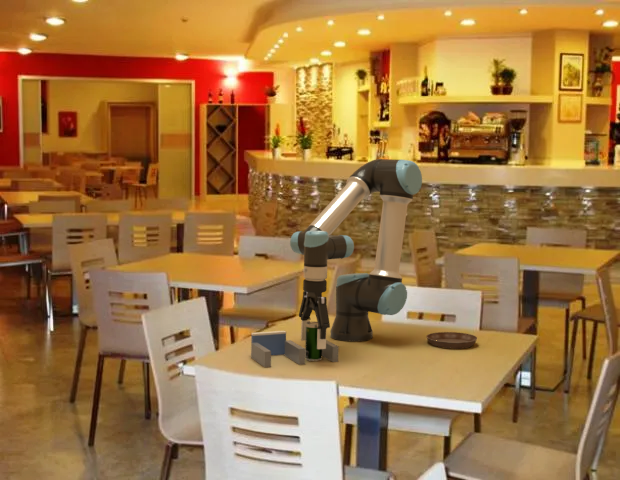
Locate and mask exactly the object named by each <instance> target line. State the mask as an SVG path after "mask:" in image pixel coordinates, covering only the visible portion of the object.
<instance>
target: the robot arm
mask: <svg viewBox="0 0 620 480" xmlns="http://www.w3.org/2000/svg"><path fill="white" fill-rule="evenodd" d="M345 184H346V185H345V186H344V187H342V189H341V190H340V191H339V192H338V193H337V194H336V196H334V198H333V199H332V200H331V201H330V202H329V203H328V204H327V206H325V208H324V209H323V210H322V211H321V212H320V213H319V214H318V216H316V217H315V219H314V220H313V221H312V222H311V223H310V224H309V225H308V226H307V228H305V230H304V231H303V230H300V231H295V232H293V234H292V235H291V236H290V241H289V245H290V249H291V250H292V251H293V252H294V253H295V254H300V255H303V269H302V272H303V278H304V279H303V282H302V283H303V284H302V291H303V292H302V299H301V304H300V308H299V313H298V318H300V320H301V324H300V325H301V328H300V329H301V331H300V333H301V334H300V341H302V342H303V341H306V325H307V322H311V315H312V312H313V311H314V313H315V318H316V322H318V327H317V329H318V332H317V349H326V340H327V329H330V327H331V329H330V338H331V339H334V340H338V341H341V342H342V341H344V342H364V341H370V340H371V339H373V333H374V332H373V329H372V324H371V322H370V318H369V313H373V314H374V313H375V314H380V315H382V316H394V315H397V314H399V313H400V312H401V310H402V309H404V307H405V304H406V302H407V299H408V290H407V287H406V285H405V284H403V276H402V275H401V274H400V272H399V271H400V266H401V256H402V251H403V250H402V248H403V241H404V235H405V234H404V233H405V229H406V228H405V227H406V219H407V212H408V205H409V204H410V203H411V202H412V201H413V200H414V195H416V194H417V193H419V192H420V190H421V188H422V184H423V174H422V172H421V169H420V167H419V166H418V164H417V163H416V162H414V161H412V160H408V159H389V158H388V159H385V158H377V159H372V160H369V161H368V162H366V163H364V164H363V165H361V166H360V167H358V168H357V169H356V170H355V171H354V172H353V173H352V174H351V175H350V176H349V177H348V178H347V180H346V183H345ZM378 192H379V197H380V199H381V200H382V209H381V215H380V222H379V229H378V230H379V232H378V238H377V245H376V246H377V247H376V252H375V260H374V269H373V270H371V271H370V272H369V273H367V272H363V273H362V272H360V273H359V272H358V273H357V272H355V273H346V274H340V275H338V276H337V278H336V286H335V287H336V288H335V316H334V320H333V323H332V326H331V325H330V324H331V322H330V317H329V311H328V303H327V297H326V296H323V293H325V292H326V291H327V289H328V288H327V286H328V285H327V284H328V283H327V282H328V281H327V278H328V260H335V259H336V260H337V259H340V260H342V259H345V258H348V257H351V256H352V254H353V253H354V250H355V244H354V240H353V239H352V238H351V237H350V236H349V235H343V234H339V235H333V232H334V231H335V230H336V229H337V228H338V227H339V226H340V225H341V223H342V222H344V220H345V219H346V218H347V217H348V216H349V215H350V213H351V212H352V211H353V210H354V209H355V208H356V206H358V204H360V202H361V201H362V200H365V199H367V198H369V197H370V195H372V194H374V193H378Z"/></svg>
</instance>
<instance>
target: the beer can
mask: <svg viewBox="0 0 620 480" xmlns="http://www.w3.org/2000/svg"><path fill="white" fill-rule="evenodd" d="M317 327H318V322H317V321H310V322H307V325H306V340H305V345H304V346H305V347H304V348H305V361H308V362H320V361H321V360H322V358H323V356H322V349H317V332H318V329H317Z"/></svg>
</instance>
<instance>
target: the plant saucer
mask: <svg viewBox="0 0 620 480" xmlns="http://www.w3.org/2000/svg"><path fill="white" fill-rule="evenodd" d="M426 339H427V341H428V342H429V343H430V344H431V345H432V346H434V347H436V346H438V347H437V348H441V347H444V348H443V349H449V348H453V350H455V349H457V350H459V349H460V350H461V349H467V348H470V347H472V346H473V345H474V344H475V343H476V342H477V340H478V336H476V335H474V334H470V333H466V332H465V333H464V332H457V331H456V332H455V331H454V332H453V331H442V332H441V331H440V332H431V333H429V334H427V335H426ZM436 340H437V341H436Z"/></svg>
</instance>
